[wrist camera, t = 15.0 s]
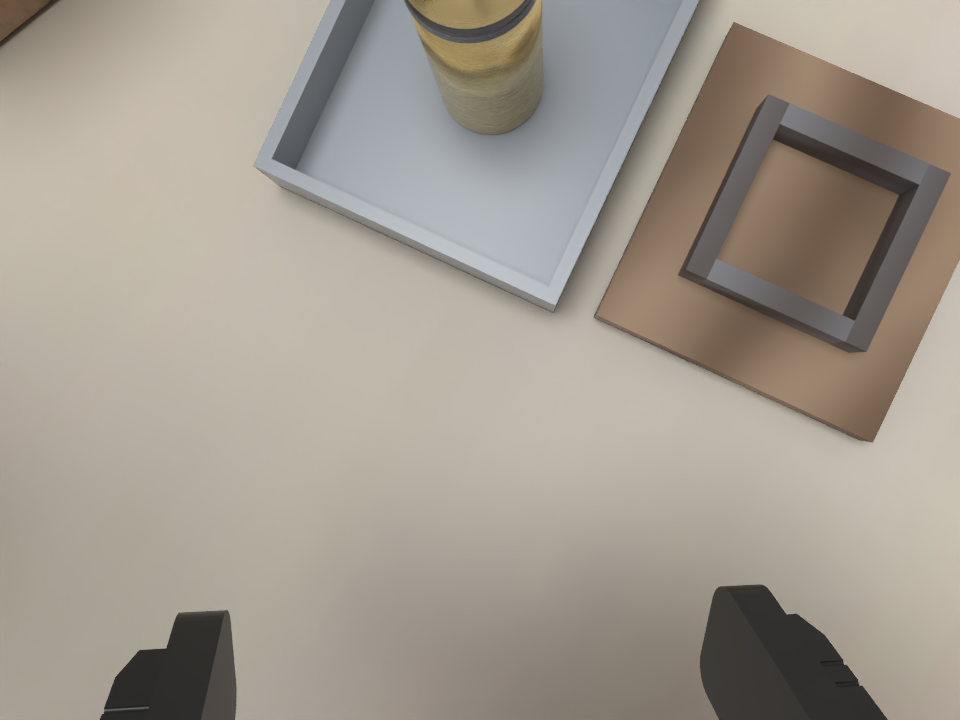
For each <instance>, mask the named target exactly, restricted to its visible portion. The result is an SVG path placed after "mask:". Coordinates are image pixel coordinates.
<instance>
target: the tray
mask: <svg viewBox="0 0 960 720" xmlns="http://www.w3.org/2000/svg"><path fill="white" fill-rule="evenodd" d="M699 1H700V0H542V12H543V62H544V88H543V94H542V97H541V100H540V103H539V105H538V107H537V109H536V110H535V112H534V113H533V115H532V116H531V117H530V118H529V119H528V120H527V121H526V122H525V123H523V124H522V125H521V126H519V127H517V128H516V129H514V130H512V131H509V132H506V133H502V134H496V135H484V134H479V133H475V132H472V131H470V130H468V129H466V128H464V127H463V126H461V125H460V124H459V123H457V122H456V121H455V120H454V119H453V118H452V116H451V115H450V114H449V112H448V111H447V109H446V107H445V105H444V102H443V100H442V97H441V94H440V91H439V89H438V86H437V83H436V81H435V78H434V75H433V72H432V70H431V67H430V64H429V62H428V59H427V56H426V54H425V51H424V48H423V45H422V43H421V40H420V37H419V35H418V32H417V29H416V26H415V24H414V21H413V18H412V16H411V13H410V11H409V10H408V8H407V6H406V4H405V2H404V0H331V1H330V3H329V5H328V7H327V9H326V11H325V14H324V16H323V18H322V20H321V22H320V24H319V26H318V29H317V31H316V33H315V35H314V37H313V39H312V41H311V44H310V46H309V48H308V50H307V52H306V54H305V56H304V59H303V61H302V63H301V65H300V67H299V69H298V71H297V73H296V76H295V78H294V80H293V82H292V84H291V86H290V88H289V91H288V93H287V95H286V97H285V99H284V101H283V103H282V106H281V108H280V110H279V112H278V114H277V116H276V118H275V121H274V123H273V125H272V127H271V129H270V131H269V133H268V135H267V138H266V140H265V142H264V144H263V146H262V148H261V150H260V153H259V155H258V157H257V159H256V161H255V163H254V165H253V166H254V167H256V168H257V169H258V170H259V171H261V172H262V173H263V174H265V175H266V176H267V177H269V178H270V179H271V180H273V181H274V182H275V183H276V184H278V185H279V186H281V187H283V188H285V189H287V190H290V191H292V192H294V193H296V194H298V195H300V196H302V197H305V198H307V199H309V200H311V201H313V202H315V203H318V204H320V205H322V206H324V207H326V208H328V209H331V210H333V211H335V212H337V213H339V214H341V215H343V216H346V217H348V218H350V219H352V220H354V221H356V222H359V223H361V224H363V225H365V226H367V227H369V228H372V229H374V230H376V231H378V232H380V233H382V234H384V235H387V236H389V237H391V238H393V239H395V240H397V241H400V242H402V243H404V244H406V245H408V246H410V247H413V248H415V249H417V250H419V251H421V252H423V253H425V254H428V255H430V256H432V257H434V258H436V259H438V260H441V261H443V262H445V263H447V264H449V265H451V266H454V267H456V268H458V269H460V270H462V271H464V272H466V273H469V274H471V275H473V276H475V277H477V278H479V279H482V280H484V281H486V282H488V283H490V284H492V285H495V286H497V287H499V288H501V289H503V290H505V291H507V292H510V293H512V294H514V295H516V296H518V297H520V298H523V299H525V300H527V301H529V302H531V303H533V304H536V305H538V306H540V307H542V308H544V309H546V310H549V311H551V312H553V311H554V309H555V307H556V305H557V303H558V301H559V299H560V296H561V294H562V292H563V290H564V288H565V286H566V284H567V282H568V279H569V277H570V275H571V273H572V271H573V269H574V267H575V265H576V263H577V260H578V258H579V256H580V254H581V252H582V250H583V248H584V246H585V243H586V241H587V239H588V237H589V235H590V233H591V231H592V229H593V226H594V224H595V222H596V220H597V218H598V216H599V214H600V212H601V209H602V207H603V205H604V203H605V201H606V199H607V197H608V195H609V192H610V190H611V188H612V186H613V184H614V182H615V180H616V178H617V175H618V173H619V171H620V169H621V167H622V165H623V163H624V161H625V158H626V156H627V154H628V152H629V150H630V148H631V146H632V144H633V141H634V139H635V137H636V135H637V133H638V131H639V129H640V127H641V124H642V122H643V120H644V118H645V116H646V114H647V112H648V110H649V108H650V105H651V103H652V101H653V99H654V97H655V95H656V93H657V91H658V88H659V86H660V84H661V82H662V80H663V78H664V76H665V74H666V71H667V69H668V67H669V65H670V63H671V61H672V59H673V57H674V54H675V52H676V50H677V48H678V46H679V44H680V42H681V40H682V37H683V35H684V33H685V31H686V29H687V27H688V25H689V23H690V20H691V18H692V16H693V14H694V12H695V10H696V8H697V6H698V3H699Z"/></svg>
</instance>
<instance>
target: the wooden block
mask: <svg viewBox="0 0 960 720" xmlns="http://www.w3.org/2000/svg"><path fill="white" fill-rule="evenodd" d="M50 1H51V0H0V41H2V40H3V39H4V38H5V37H7V36H8V35H9V34H10V33H12V32H13V31H14V30H15V29H17V28H18V27H19V26H20V25H22V24H23V23H24V22H25V21H27V20H28V19H29V18H30V17H32V16H33V15H34V14H35V13H36V12H38V11H39V10H40V9H41V8H43V7H44V6H45V5H46V4H48V3H49V2H50Z"/></svg>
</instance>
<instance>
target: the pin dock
mask: <svg viewBox="0 0 960 720" xmlns="http://www.w3.org/2000/svg"><path fill="white" fill-rule="evenodd" d="M959 260H960V119H959V118H956V117H954V116H952V115H949V114H947V113H945V112H942V111H940V110H938V109H935V108H933V107H931V106H928V105H926V104H924V103H921V102H919V101H917V100H914V99H912V98H910V97H907V96H905V95H903V94H900V93H898V92H896V91H893V90H891V89H889V88H886V87H884V86H882V85H879V84H877V83H875V82H872V81H870V80H868V79H865V78H863V77H861V76H858V75H856V74H854V73H851V72H849V71H847V70H844V69H842V68H840V67H837V66H835V65H833V64H830V63H828V62H826V61H823V60H821V59H819V58H816V57H814V56H812V55H809V54H807V53H805V52H802V51H800V50H798V49H795V48H793V47H791V46H788V45H786V44H784V43H781V42H779V41H777V40H774V39H772V38H770V37H767V36H765V35H763V34H760V33H758V32H756V31H753V30H751V29H749V28H746V27H744V26H742V25H739V24H737V23H735V22H734V23H733V25H732V27H731V28H730V30H729V32H728V34H727V35H726V37H725V40H724V42H723V44H722V46H721V48H720V50H719V52H718V54H717V56H716V59H715V61H714V63H713V65H712V67H711V69H710V71H709V73H708V76H707V78H706V80H705V82H704V84H703V86H702V88H701V90H700V93H699V95H698V97H697V99H696V101H695V103H694V105H693V107H692V110H691V112H690V114H689V116H688V118H687V120H686V122H685V124H684V127H683V129H682V131H681V133H680V135H679V137H678V139H677V141H676V143H675V146H674V148H673V150H672V152H671V154H670V156H669V158H668V160H667V163H666V165H665V167H664V169H663V171H662V173H661V175H660V177H659V180H658V182H657V184H656V186H655V188H654V190H653V192H652V194H651V197H650V199H649V201H648V203H647V205H646V207H645V209H644V211H643V213H642V216H641V218H640V220H639V222H638V224H637V226H636V228H635V230H634V233H633V235H632V237H631V239H630V241H629V243H628V245H627V247H626V250H625V252H624V254H623V256H622V258H621V260H620V262H619V264H618V267H617V269H616V271H615V273H614V275H613V277H612V279H611V281H610V283H609V286H608V288H607V290H606V292H605V294H604V296H603V298H602V300H601V303H600V305H599V307H598V309H597V311H596V313H595V315H594V318H596V319H599V320H601V321H603V322H605V323H607V324H609V325H612V326H614V327H616V328H618V329H620V330H622V331H625V332H627V333H629V334H631V335H633V336H635V337H638V338H640V339H642V340H644V341H646V342H648V343H651V344H653V345H655V346H657V347H659V348H661V349H664V350H666V351H668V352H670V353H672V354H674V355H677V356H679V357H681V358H683V359H685V360H687V361H690V362H692V363H694V364H696V365H698V366H700V367H703V368H705V369H707V370H709V371H711V372H713V373H716V374H718V375H720V376H722V377H724V378H726V379H729V380H731V381H733V382H735V383H737V384H739V385H742V386H744V387H746V388H748V389H750V390H752V391H754V392H757V393H759V394H761V395H763V396H765V397H767V398H770V399H772V400H774V401H776V402H778V403H780V404H783V405H785V406H787V407H789V408H791V409H793V410H796V411H798V412H800V413H802V414H804V415H806V416H809V417H811V418H813V419H815V420H817V421H819V422H822V423H824V424H826V425H828V426H830V427H832V428H835V429H837V430H839V431H841V432H843V433H845V434H848V435H850V436H852V437H854V438H856V439H858V440H863V441H868V442H873V441H874V439H875V437H876V435H877V432H878V430H879V428H880V426H881V424H882V422H883V420H884V418H885V416H886V413H887V411H888V409H889V407H890V405H891V403H892V401H893V399H894V397H895V394H896V392H897V390H898V388H899V386H900V384H901V382H902V380H903V378H904V376H905V373H906V371H907V369H908V367H909V365H910V363H911V361H912V359H913V357H914V354H915V352H916V350H917V348H918V346H919V344H920V342H921V340H922V338H923V335H924V333H925V331H926V329H927V327H928V325H929V323H930V321H931V319H932V316H933V314H934V312H935V310H936V308H937V306H938V304H939V302H940V300H941V297H942V295H943V293H944V291H945V289H946V287H947V285H948V283H949V281H950V279H951V276H952V274H953V272H954V270H955V268H956V266H957V264H958V262H959Z"/></svg>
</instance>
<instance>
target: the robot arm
mask: <svg viewBox="0 0 960 720" xmlns="http://www.w3.org/2000/svg"><path fill="white" fill-rule="evenodd" d="M700 670H701V677H702V682H703V686H704V689H705V692H706V694H707V696H708V698H709V700H710V702H711V704H712V706H713V708H714V710H715V712H716V714H717V716H718V718H719V720H887V718H886V717H885V716H884V714H883V713H882V712H881V710H880V709H879V708H878V706H877V705H876V703H875V702H874V701H873V699H872V698H871V697H870V695H869V694H868V693H867V691H866V690H865V689H864V687H863V686H859V683H858V679H857V678H856V677H855V675H854V674H853V673H852V671H851V670H850V669H849V667H848V666H847V665H844V664H843V659H842V658H841V656H840V655H839V654H838V652H837V651H836V650H835V648H834V647H833V646H832V644H831V643H830V642H829V640H828V639H827V638H826V636H825V635H824V634H822V633H821V632H820V631H819V630H817V629H816V628H815V627H813V626H812V625H811V624H809V623H808V622H807V621H806V620H804V619H803V618H802V617H800V616H799V615H798V614H788V615H786V613H785V612H784V610H783V609H782V608H781V606H780V605H779V603H778V602H777V600H776V599H775V598H774V596H773V595H772V593H771V592H770V591H769V590H768V588H766V587H765V586H763V585H742V586H723V587H718V588H717V589H716V591H715V593H714V595H713V599H712V604H711V609H710V613H709V618H708V623H707V627H706V632H705V637H704V641H703V646H702V651H701V657H700ZM235 714H236V677H235V666H234V655H233V643H232V632H231V621H230V615H229V612H228V611H227V610H224V611H205V612H185V613H178V615H177V616H176V619H175V622H174V625H173V628H172V632H171V635H170V638H169V642H168V645H167V648H166V649H151V650H139V651H138V652H137V654H136V655H135V656H134V657H133V658H132V659H131V660H130V662H129V663H128V664H127V665H126V666H125V667H124V668H123V669H122V671H121V672H120V673H119V674H118V675H117V676H116V677H115V680H114V683H113V685H112V688H111V691H110V694H109V696H108V699H107V702H106V705H105V707H104V714H102V716H101V718H100V720H235Z"/></svg>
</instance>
